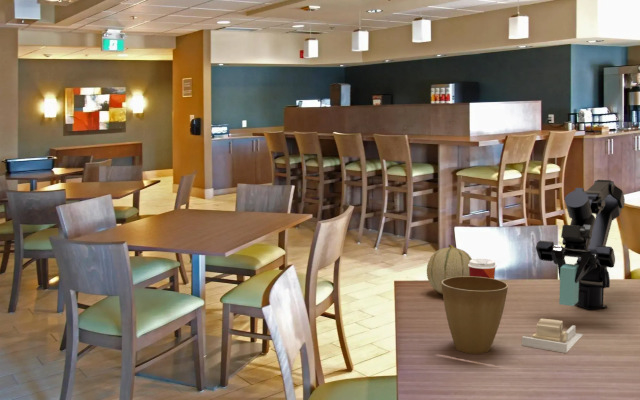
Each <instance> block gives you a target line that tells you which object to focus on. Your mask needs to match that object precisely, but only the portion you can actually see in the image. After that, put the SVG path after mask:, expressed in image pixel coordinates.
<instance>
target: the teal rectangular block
mask: <svg viewBox="0 0 640 400" xmlns="http://www.w3.org/2000/svg"><path fill="white" fill-rule="evenodd" d="M578 267H579V265H574V264H572V263H566V264H565V265H563V266H562V267H560V279H559V298H558V299H559V300H558V301H559V302H558V303H559V305H563V306H569V307H574V306H576V305H575V304H576V303H577V302H578V293H579V281H578V282H577V283H575V277H576V273H577V270H578Z"/></svg>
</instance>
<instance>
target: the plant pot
mask: <svg viewBox="0 0 640 400" xmlns="http://www.w3.org/2000/svg"><path fill="white" fill-rule="evenodd" d="M508 288H509V285H508V283H507V282H505V281H503V280H499V279H496V278H494V279H492V278H486V277H474V276H462V277H451V278H447V279H444V280H443V281H442V292H443V294H442V300H443V305H444V310H445V316H446V319H447V323H448V327H449V331H450V336H451V338H452V341H453V344H454V347H455V349H456V350H458V351H459V352H461V353H462V352H463V353H466V354H472V355H474V354H476V355H477V354H479V355H480V354H484V353H488V352H489V351H490V349H491V348H492V345H493V343H494V340H495V338H496V335H497V332H498V329H499V326H500V323H501V320H502V316H503V313H504V308H505V305H506V299H507V294H508Z"/></svg>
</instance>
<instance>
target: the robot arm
mask: <svg viewBox="0 0 640 400" xmlns="http://www.w3.org/2000/svg"><path fill="white" fill-rule="evenodd" d="M623 192H624V191H623V190H622V189H621V188H619V187H618V186H616V184H615V182H614V180H611V179H596V180H594V183H593V184H592V185H591V186H590V187H588V189H587V190H584V188H583V187H575V189H574V190H573V191H571V192H569V193H568V194H566V196H565V197H564V203H565V207H566V210H567V214H568V217H569V218H570V219H571V220H570V224H562V229H561V234H560V235H561V236H560V237H561V238H562V242H561V243H562V245H563V246H562V245H557V244H555V242H554V241H548V240H539V241H538V242H536V244H535V250H536V253H537V257H538V258H539V260H540V261H546V262H552V261H553V264H555V265H557V270H558V279H559V280H560V267H562V266H563V265H565V264H567V263H566V260H565V258H566V257H569V258H577V260H576V262H575V263H574V264H573V265H579V267H578V270H577V273H576V277H575V283H577V282H578V281H579V293H578V302H577V303H576V304H575V305H574V306H577V307H580V308H583V309H586V310H588V311H593V310H599V309H600V310H601V309H605V308H606V309H607V308H608V305H606V304H604V291H605V290H604V289H609V288H610V286H611V279H610V273H609V271H608V270H609V269H608V268H614V267H615V264H616V256H615V253H614V252H615V251H614V249H613V247H612V246H607V242H608V238H609V234H610V230H611V226H612V222H613V221H614V220H615V219H617V218H618V217H619V216H620V215H621V212H622V209H624V207H625V204H626V203H625V199H626V198H625V194H624V193H623Z"/></svg>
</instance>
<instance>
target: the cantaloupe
mask: <svg viewBox="0 0 640 400" xmlns="http://www.w3.org/2000/svg"><path fill="white" fill-rule="evenodd" d="M472 259H473V258H472V256H471V255H469V253H467V252H466V251H465V250H463V249H460V248H457V247H455V246H453V244H448V247H443V248H439V249H438V250H436V251H435V252H434V253H433V254H432V255H431V256H430V257H429V260H428V262H427V265H426V266H427V267H426V277H427V280H428V283H429V284H430V286H431V287H432V288H433V290H435V291H436V292H438V293H439V294H441V295H443V292H442V281H443V280H444V279H447V278H451V277H462V276H470V274H469V266H468V264H469V262H470V260H472Z"/></svg>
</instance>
